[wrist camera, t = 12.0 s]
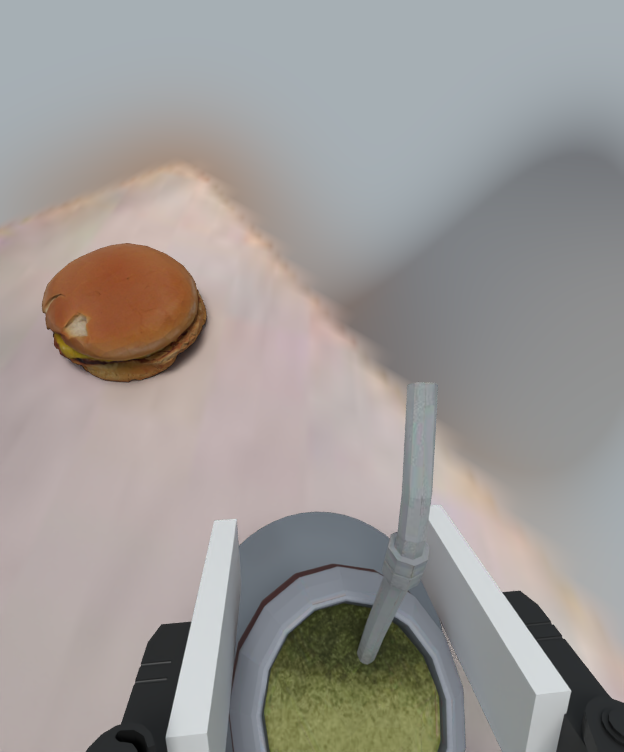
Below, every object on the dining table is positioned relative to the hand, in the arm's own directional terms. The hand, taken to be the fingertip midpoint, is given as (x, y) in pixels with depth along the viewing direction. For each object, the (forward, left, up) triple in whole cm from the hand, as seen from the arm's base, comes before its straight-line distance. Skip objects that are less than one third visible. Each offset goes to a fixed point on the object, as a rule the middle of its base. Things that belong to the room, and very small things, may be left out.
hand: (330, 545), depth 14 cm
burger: (-19, +5, -9) cm, 22 cm away
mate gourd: (+2, -3, -6) cm, 7 cm away
